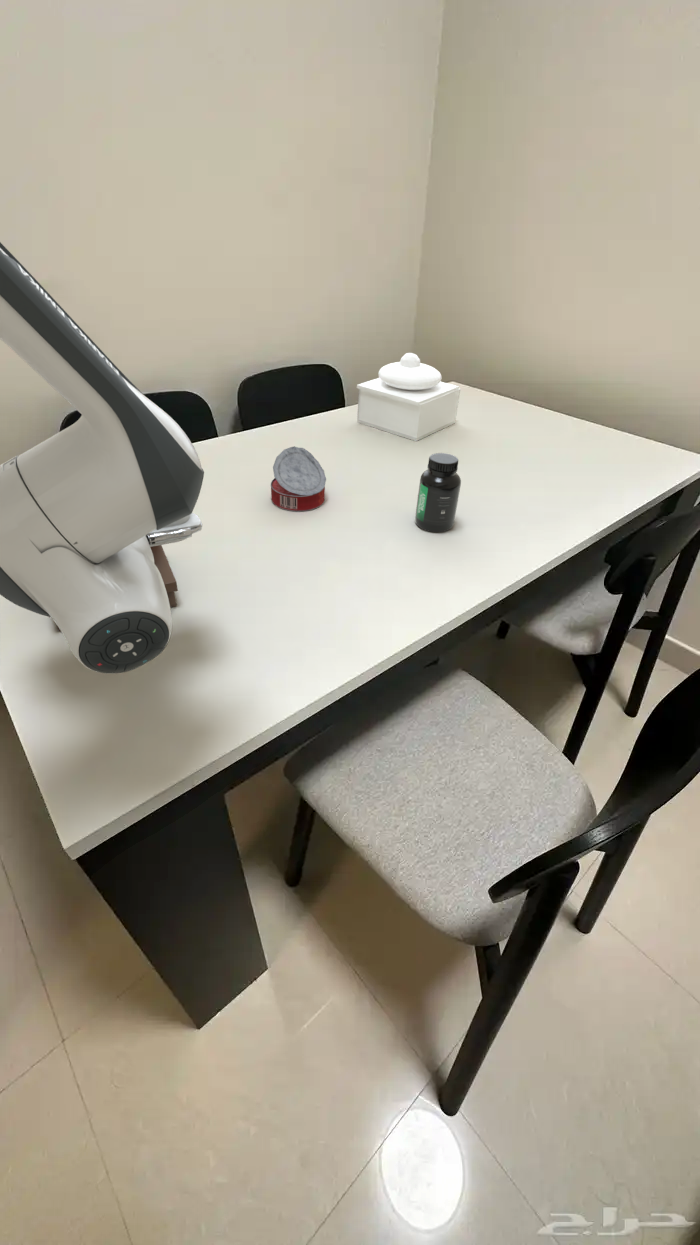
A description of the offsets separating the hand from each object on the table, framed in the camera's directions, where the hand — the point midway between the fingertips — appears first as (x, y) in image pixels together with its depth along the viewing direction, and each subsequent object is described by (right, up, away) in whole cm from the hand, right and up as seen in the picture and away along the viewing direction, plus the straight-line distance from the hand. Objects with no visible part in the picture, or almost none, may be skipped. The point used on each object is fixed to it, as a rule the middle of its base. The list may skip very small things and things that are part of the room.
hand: (86, 492), depth 67 cm
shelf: (-3, -11, +15) cm, 19 cm away
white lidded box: (+44, +34, +76) cm, 94 cm away
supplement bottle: (+45, +2, +36) cm, 57 cm away
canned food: (+21, +8, +41) cm, 46 cm away
